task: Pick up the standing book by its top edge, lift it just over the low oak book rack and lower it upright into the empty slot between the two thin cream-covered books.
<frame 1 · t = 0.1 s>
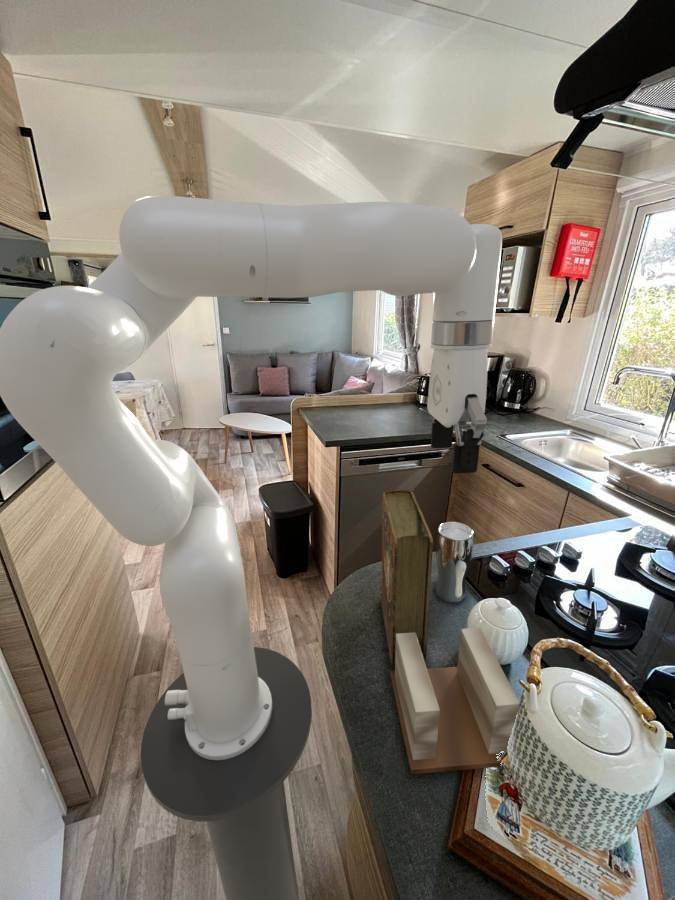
hand: (451, 458, 55), 35 cm above the worktop, tool pointing down, fingers open, 9 cm apart
silver metal cylinder: (450, 593, 79), on the worktop
book rack: (446, 715, 55), on the worktop
book: (400, 631, 70), on the worktop
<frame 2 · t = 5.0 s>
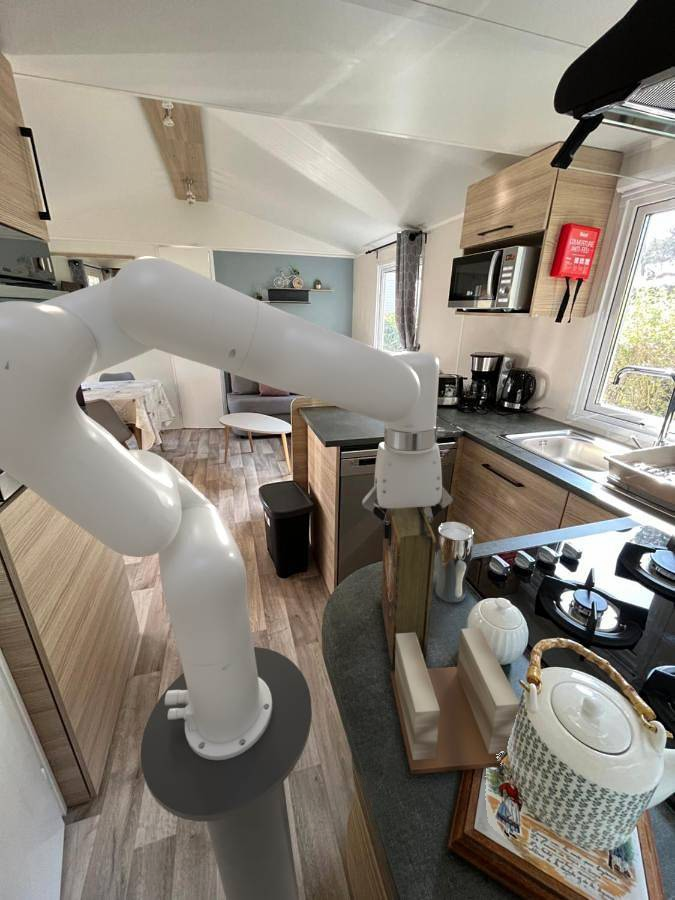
hand: (405, 539, 63), 20 cm above the worktop, tool pointing down, fingers closed on book, 4 cm apart
book: (400, 631, 70), on the worktop, touching gripper
everything else where it was.
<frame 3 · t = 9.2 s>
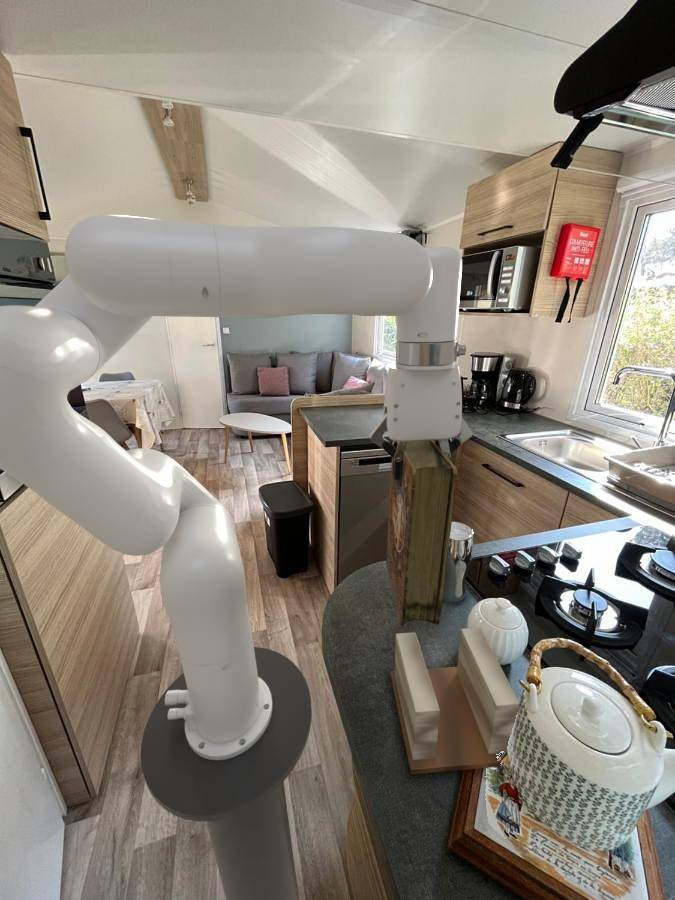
hand: (418, 481, 56), 32 cm above the worktop, tool pointing down, fingers closed on book, 4 cm apart
book: (408, 591, 62), point 12 cm above the worktop, touching gripper
everything else where it was.
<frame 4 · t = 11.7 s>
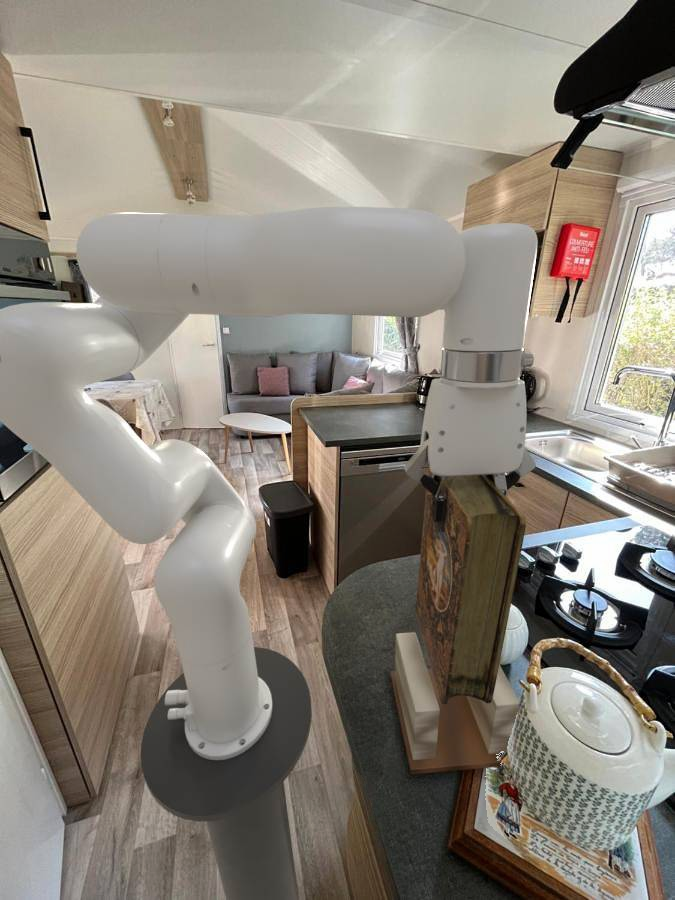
hand: (463, 523, 44), 32 cm above the worktop, tool pointing down, fingers closed on book, 4 cm apart
book: (446, 651, 51), point 12 cm above the worktop, touching gripper
everything else where it was.
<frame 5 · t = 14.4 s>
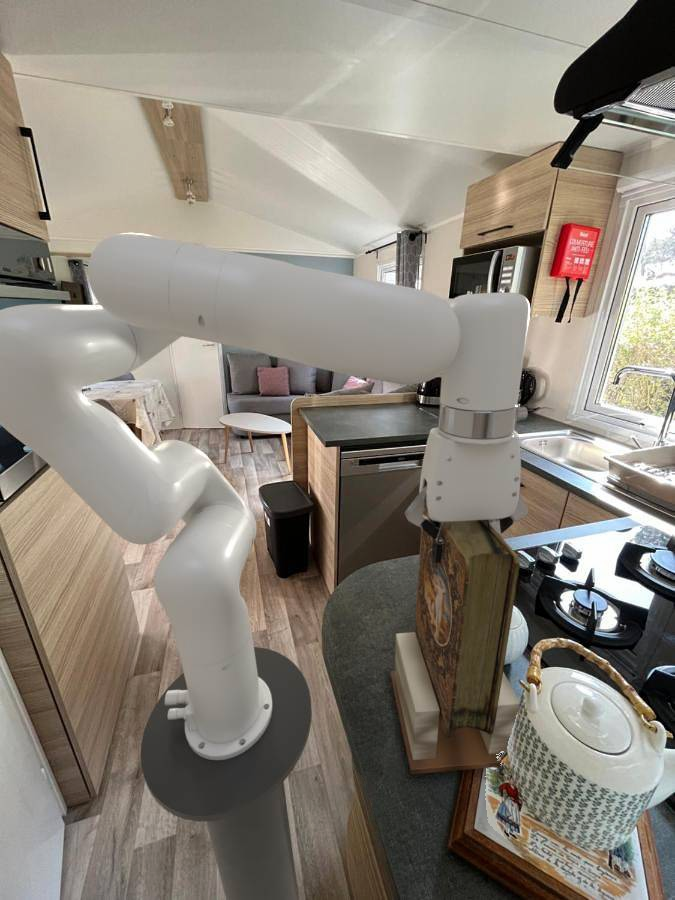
hand: (461, 563, 46), 27 cm above the worktop, tool pointing down, fingers closed on book, 4 cm apart
book: (446, 681, 53), point 7 cm above the worktop, touching gripper
everything else where it was.
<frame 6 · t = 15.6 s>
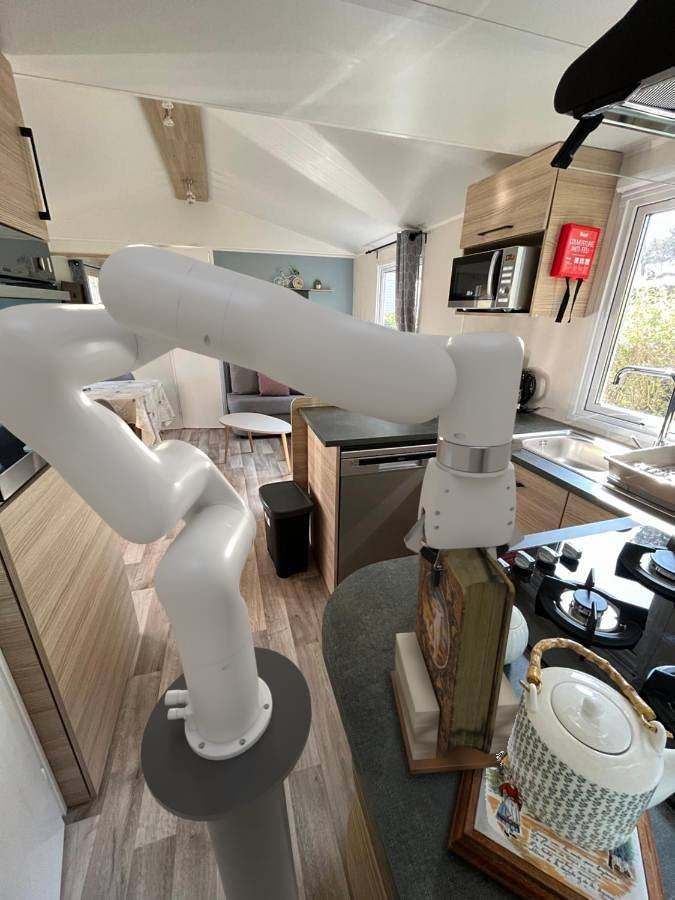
hand: (458, 587, 47), 23 cm above the worktop, tool pointing down, fingers closed on book, 4 cm apart
book: (444, 700, 54), point 3 cm above the worktop, touching gripper
everything else where it was.
when the fingers open (21 cm above the worktop, at t = 16.6 s): book stays where it is, resting on book rack.
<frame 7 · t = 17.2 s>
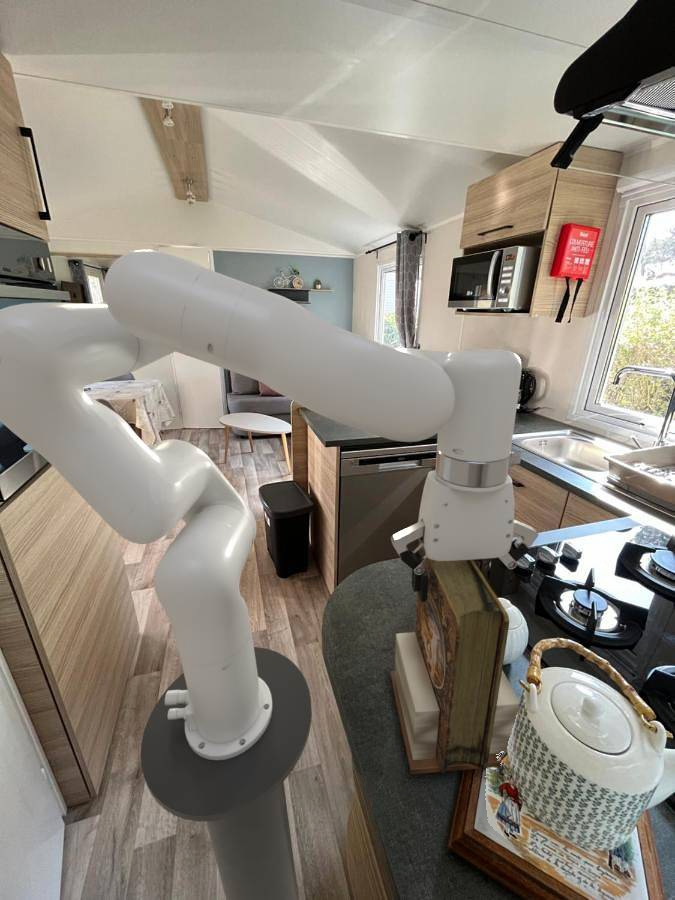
hand: (458, 591, 48), 22 cm above the worktop, tool pointing down, fingers open, 9 cm apart
book: (442, 713, 55), point 1 cm above the worktop, touching book rack
everything else where it was.
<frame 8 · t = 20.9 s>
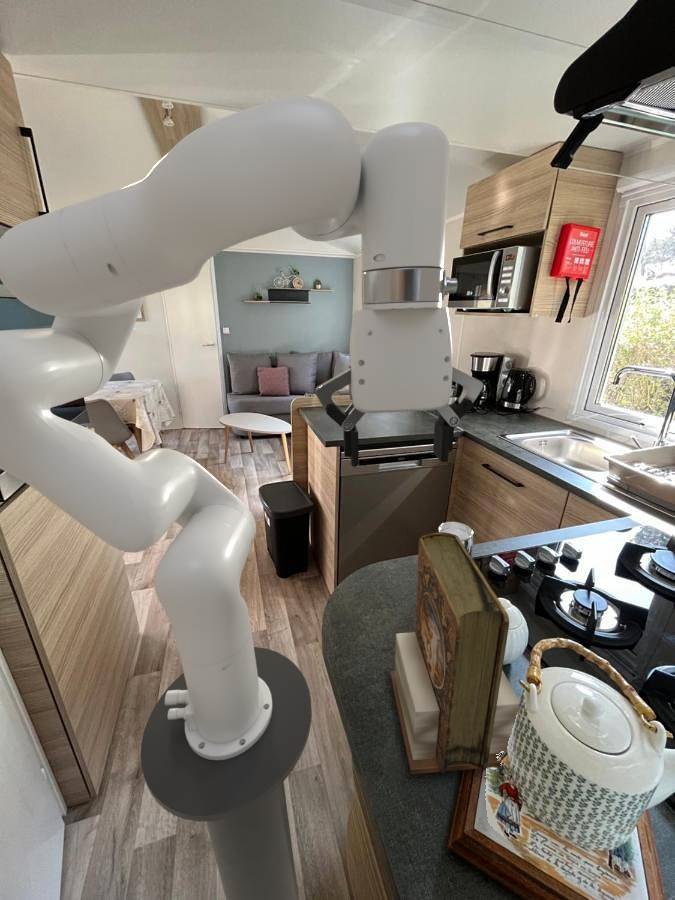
hand: (397, 459, 42), 40 cm above the worktop, tool pointing down, fingers open, 9 cm apart
nothing on the worktop moved.
at the end: book 0.7 cm off-centre on the book rack, point 0.8 cm above the book rack's base; book tilted 0°; the gripper is holding nothing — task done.
